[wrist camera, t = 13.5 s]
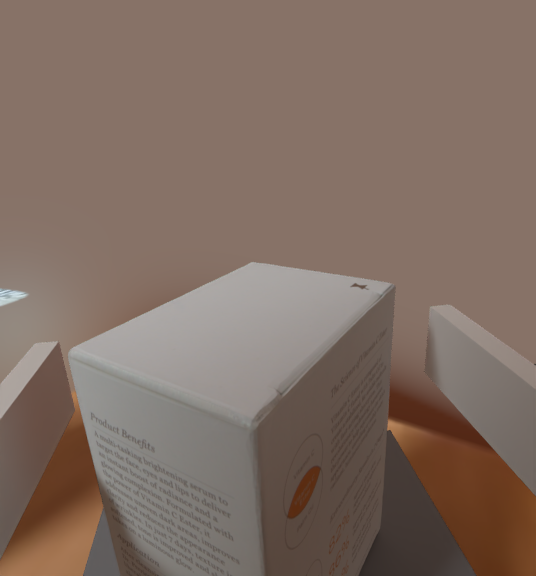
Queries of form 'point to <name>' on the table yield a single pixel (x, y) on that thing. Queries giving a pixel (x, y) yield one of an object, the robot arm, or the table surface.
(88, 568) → the plinth
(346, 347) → the small box
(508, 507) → the table surface
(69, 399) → the robot arm
